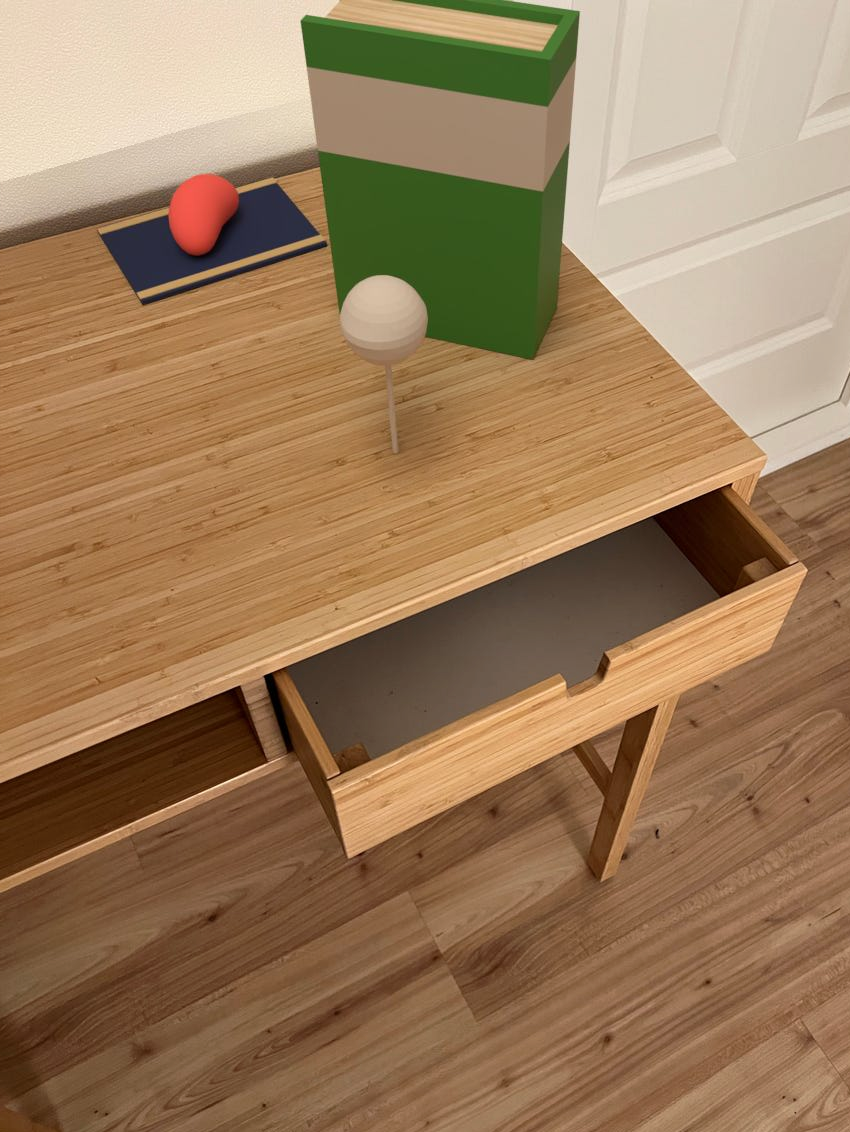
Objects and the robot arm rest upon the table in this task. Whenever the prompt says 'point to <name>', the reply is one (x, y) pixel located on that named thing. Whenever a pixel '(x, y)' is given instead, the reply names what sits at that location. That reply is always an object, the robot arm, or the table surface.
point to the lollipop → (384, 327)
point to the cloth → (243, 244)
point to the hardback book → (448, 156)
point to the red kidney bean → (201, 212)
